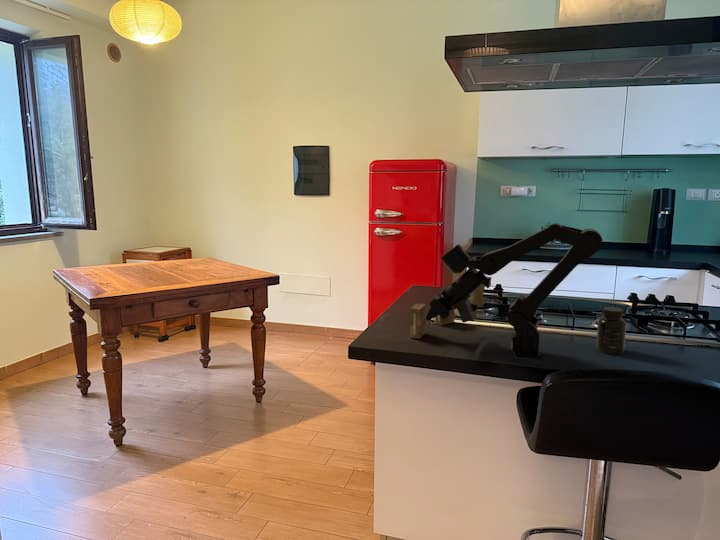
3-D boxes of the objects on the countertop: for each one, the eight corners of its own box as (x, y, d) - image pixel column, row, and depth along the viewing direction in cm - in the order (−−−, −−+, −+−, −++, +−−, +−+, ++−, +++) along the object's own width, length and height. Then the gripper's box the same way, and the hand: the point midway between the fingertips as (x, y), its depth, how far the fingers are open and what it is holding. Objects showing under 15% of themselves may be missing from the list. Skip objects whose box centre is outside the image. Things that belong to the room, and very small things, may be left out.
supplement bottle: (595, 345, 135) (598, 304, 133) (622, 348, 133) (625, 306, 131) (596, 353, 129) (600, 311, 127) (625, 356, 127) (629, 313, 124)
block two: (454, 321, 156) (454, 295, 154) (440, 325, 152) (440, 298, 151) (447, 319, 158) (447, 293, 157) (433, 323, 155) (434, 296, 153)
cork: (466, 312, 172) (467, 282, 170) (470, 308, 177) (471, 279, 175) (483, 314, 169) (484, 284, 167) (487, 310, 174) (487, 281, 172)
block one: (425, 332, 145) (425, 304, 144) (419, 339, 140) (419, 309, 138) (416, 331, 147) (416, 303, 145) (409, 337, 141) (409, 308, 139)
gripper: (478, 315, 125) (437, 350, 132) (490, 299, 142) (453, 330, 148) (449, 284, 127) (410, 319, 133) (464, 271, 143) (429, 304, 150)
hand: (427, 319), depth 141 cm, fingers closed
